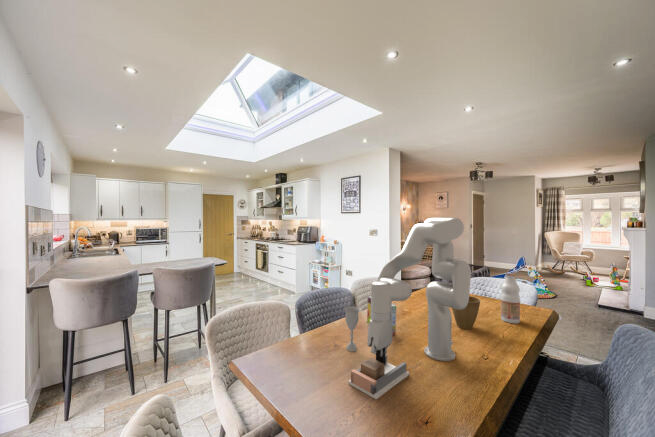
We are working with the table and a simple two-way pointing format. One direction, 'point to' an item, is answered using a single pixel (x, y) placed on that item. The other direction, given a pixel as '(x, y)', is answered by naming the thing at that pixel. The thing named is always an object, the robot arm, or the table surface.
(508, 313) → the white plastic bottle
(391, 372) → the chute
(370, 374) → the walnut block
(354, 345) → the chalice
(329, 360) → the table surface
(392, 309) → the snack box
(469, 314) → the plant pot
